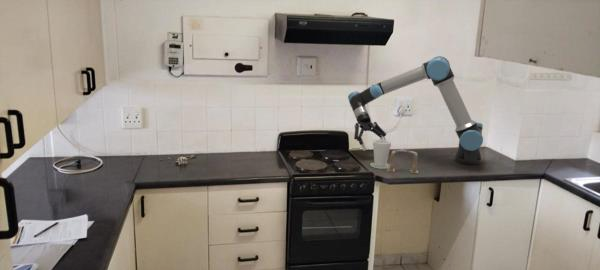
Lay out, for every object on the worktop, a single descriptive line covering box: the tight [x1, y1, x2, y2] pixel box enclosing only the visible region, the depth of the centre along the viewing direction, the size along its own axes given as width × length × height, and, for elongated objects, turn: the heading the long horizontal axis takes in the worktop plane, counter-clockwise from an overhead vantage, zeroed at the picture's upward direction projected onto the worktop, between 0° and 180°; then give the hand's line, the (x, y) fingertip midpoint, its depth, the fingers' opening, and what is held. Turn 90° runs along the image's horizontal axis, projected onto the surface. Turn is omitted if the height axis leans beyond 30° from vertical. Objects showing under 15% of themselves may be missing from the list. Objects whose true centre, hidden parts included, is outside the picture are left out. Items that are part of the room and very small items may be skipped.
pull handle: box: [386, 148, 419, 174], centre depth 259 cm, size 16×7×11 cm, turn 86°
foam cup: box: [372, 139, 392, 167], centre depth 266 cm, size 10×9×13 cm
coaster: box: [369, 162, 390, 170], centre depth 268 cm, size 11×11×1 cm
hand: (375, 148), depth 270 cm, fingers open, 13 cm apart
